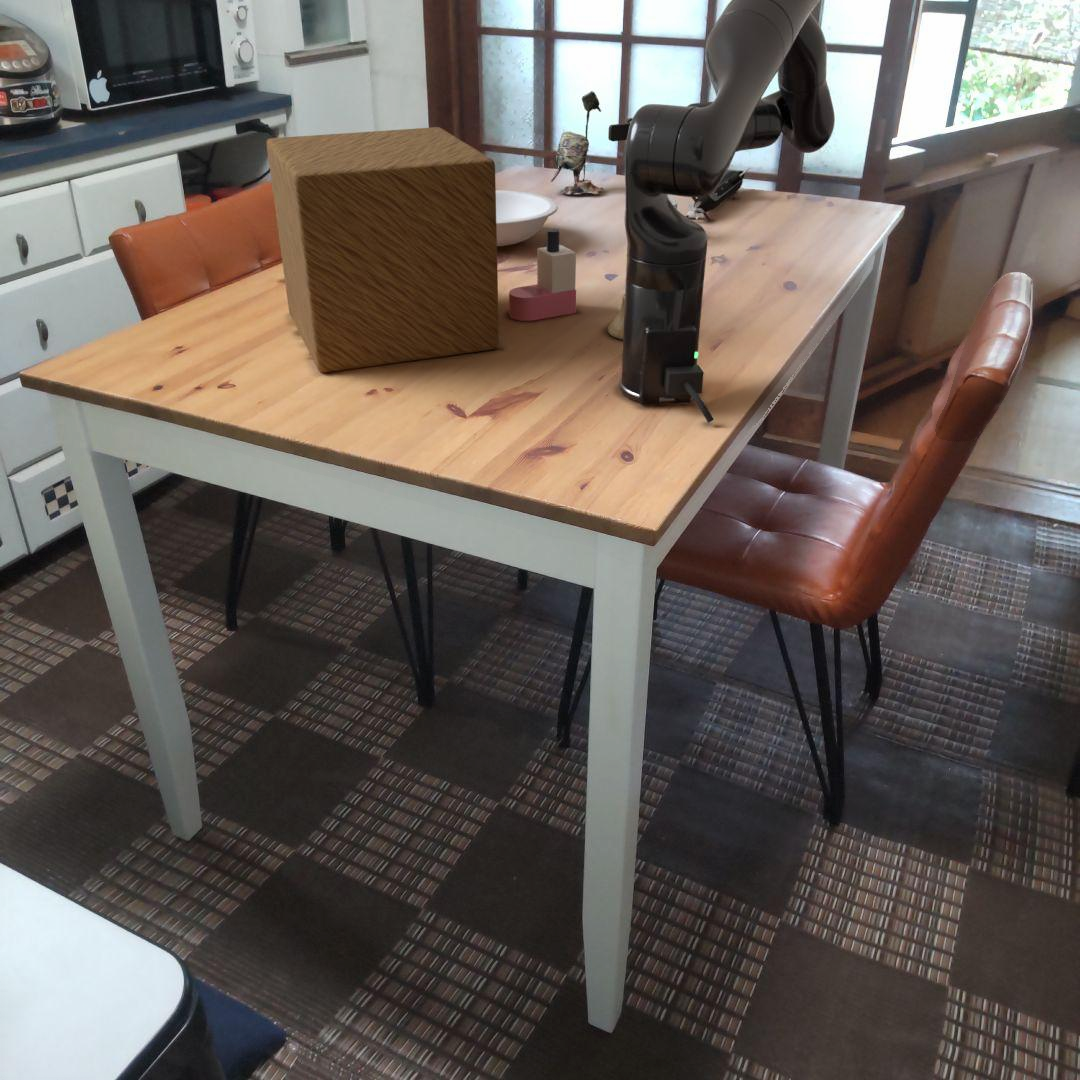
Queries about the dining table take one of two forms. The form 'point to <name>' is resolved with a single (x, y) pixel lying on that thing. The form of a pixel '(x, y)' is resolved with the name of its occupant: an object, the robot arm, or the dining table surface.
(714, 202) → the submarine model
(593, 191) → the bird figurine
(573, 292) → the block stack
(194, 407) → the dining table surface
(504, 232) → the soup bowl
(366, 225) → the wood block
